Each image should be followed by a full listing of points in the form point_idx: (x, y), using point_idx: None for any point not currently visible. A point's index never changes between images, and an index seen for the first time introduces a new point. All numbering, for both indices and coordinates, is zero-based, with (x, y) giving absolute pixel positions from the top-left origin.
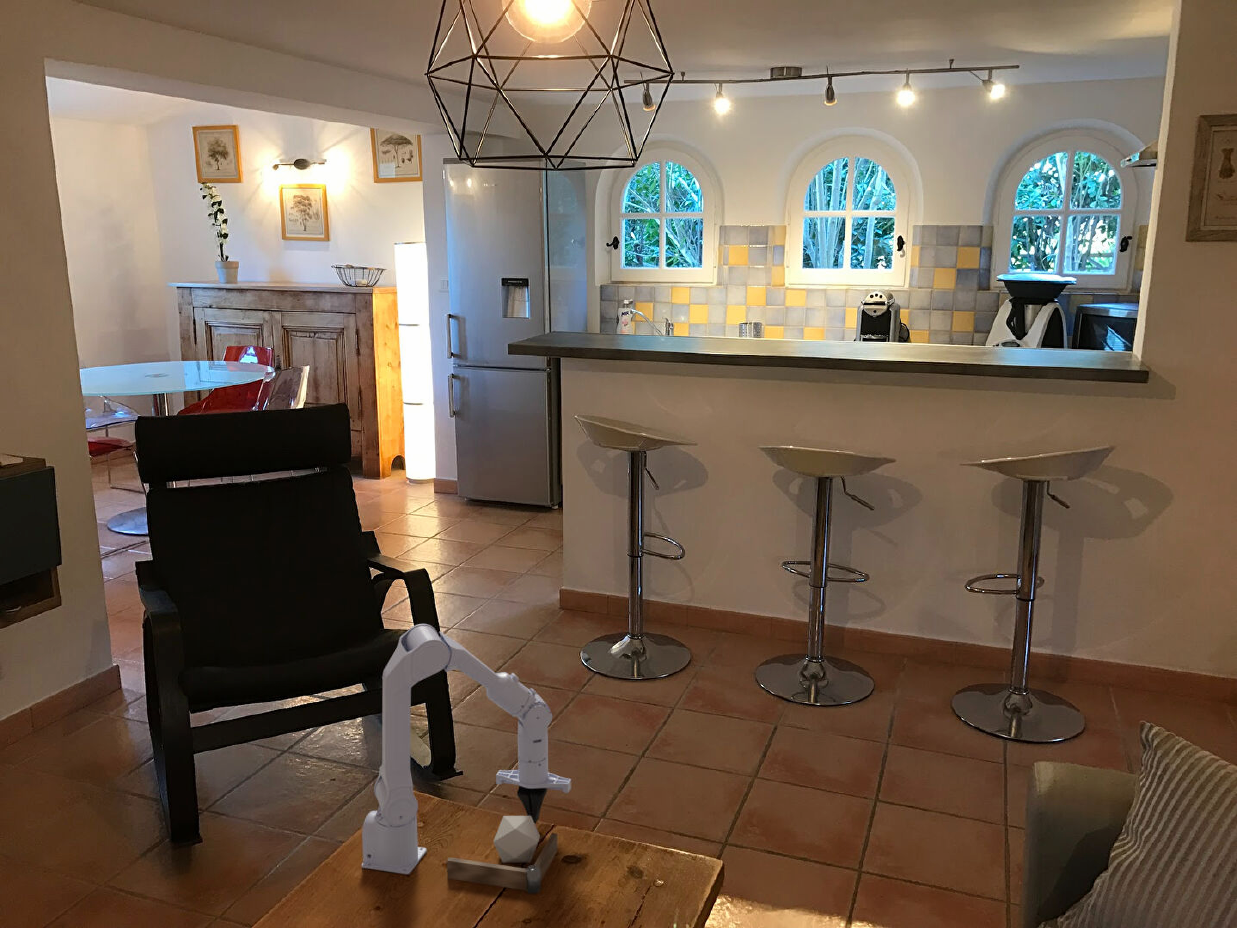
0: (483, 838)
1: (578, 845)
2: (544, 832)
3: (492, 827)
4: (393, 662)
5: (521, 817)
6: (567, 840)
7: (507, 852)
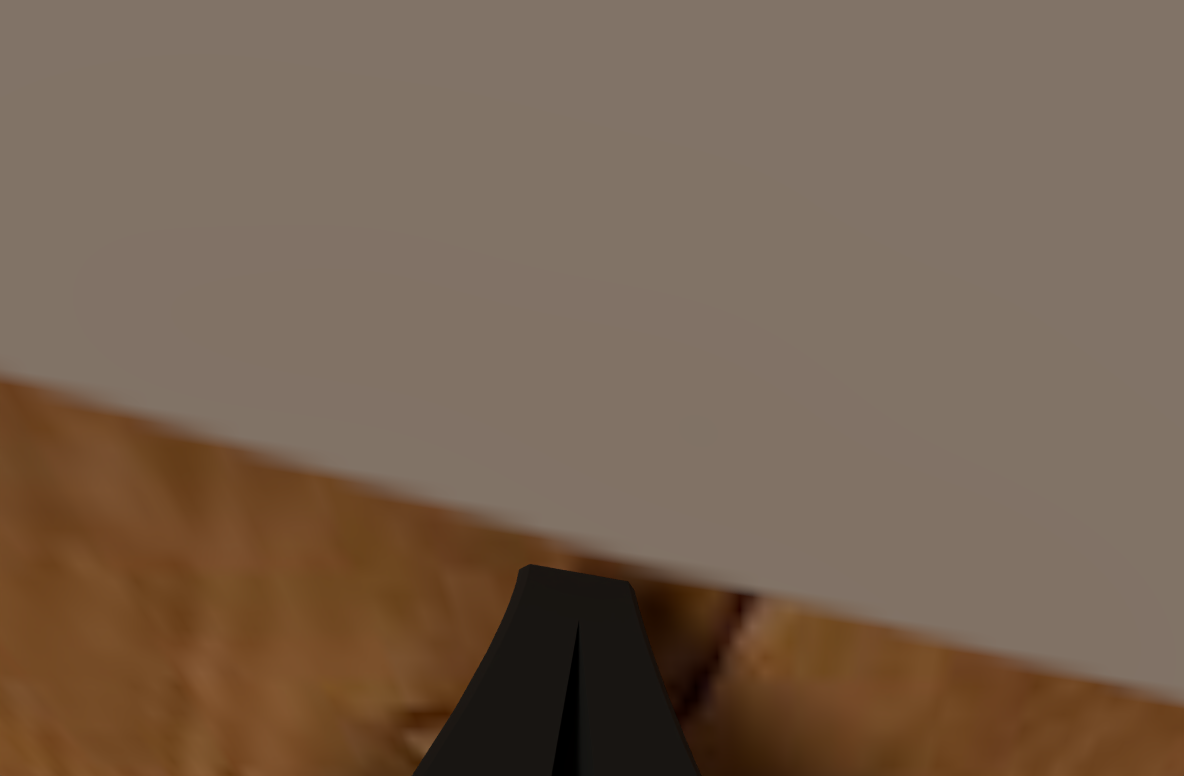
0: (43, 679)
1: (1088, 771)
2: (713, 583)
3: (24, 499)
4: None
5: None
6: (983, 706)
7: None
